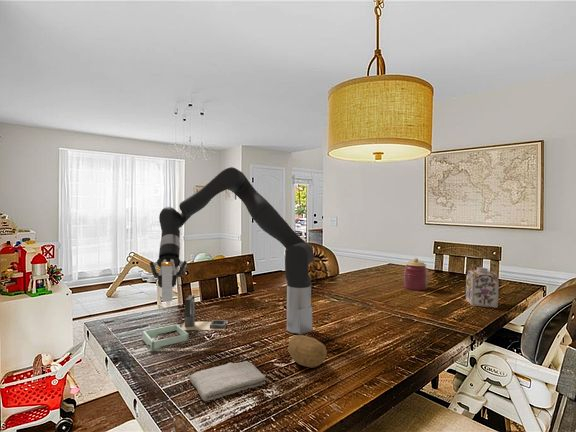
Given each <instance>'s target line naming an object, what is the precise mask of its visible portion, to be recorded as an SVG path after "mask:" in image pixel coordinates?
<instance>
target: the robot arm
mask: <svg viewBox="0 0 576 432" xmlns="http://www.w3.org/2000/svg"><path fill="white" fill-rule="evenodd" d="M226 190H227V191H230V192H232V193H233V194H234V195H235V196H236V197H238V198H239V200H240V201H242V203H243V204H244V206H245V207H246V209H247V212H248V214H249V215H250V217H251V218H252V219H253V220H254V222H255V223H256V224H257V225H258V226H259V228H260V229H261V230H262V231H263V232H265V233H266V234H267V235H269V236H271V238H274V239H275V240H277V241H278V242H279V243H280V244H281V245H282V246H283V247H284V248H285V249H286V251H285V255H284V273H285V275H284V276H285V279H286V331H287V332H289V333H291V334H297V335H305V334H307V333H310V332H312V331H313V306H312V304H311V303H312V301H311V299H312V278H311V277H310V275H309V265H310V264H311V263H312V262H313V261H314V259H315V253H314V250H313V248H312V247H311V246H310V245H309V243H308V242H306V241H305V240H304V239H303V238H302V237H301V236H300V235H298V234H297V233H296V232H295V231H294V229H293V228H291V225H289V224H288V222H287V221H286V220H285V219H284V218H283V216H281V214H280V213H279V212H278V211H277V210H276V209H275V208H274V206H273V205H272V204H271V203H270V202H269V201H268V200H267V199H266V198H264V197H263V196H262V195H261V193H259V192H258V191H257V190H256V189H255V187H254V186H253V185H252V184H251V183H250V181H249V179H248V178H247V177H246V175H245V174H244V173H243V172H242V171H240V170H239V169H237V168H236V167H233V166H227V167H225V168H224V169H222V170H221V171H220V172H219V173H218V174H217V175H215V176H214V177H213V178H212V179H211V180H210V181H209V182H208V183H206V185H204V186H202V188H201V189H199V190H198V191H196V192H194V193H193V194H192V195H190V196H189V197H187V198H185V200H182V201H181V202H180V203H179V210H180V211H181V212H179V211H177V210H176V209H175V208H174V207H171V206H165V207H163V208H162V209H161V211H160V213H159V215H158V219H159V224H160V229H161V237H160V238H161V239H160V242H159V253H158V258H157V261H155V262H153V261H150V262H149V267H150V270H151V273H152V276H153V277H154V279H157V285H158V287H159V288H161V289H162V266H161V263H162V262H173V276H172V287H173V288H174V287H176V285H177V280H178V278H181V277H182V276H183V274H184V273H185V271H186V269H187V265H188V263H187V261H186V260H184V261H182V260H181V259H180V254H181V253H180V251H181V242H180V237H181V235H180V234H181V232H180V228H182V227H183V226H184V225H185V224H186V223H187V221H188V220H189V219H190V218H191V217H192V216H193V215H194V214H196V213H199V212H200V211H201V210H202V209H204V208H205V207H207V205H208V204H209V203H210V201H211V200H212V199H213V198H215V196H217V195H219V194H220V193H222V192H224V191H226ZM179 266H180V268H179V270H178V271H177V270H176V269H177V268H178V267H179ZM157 267H159V271H158V272H157Z"/></svg>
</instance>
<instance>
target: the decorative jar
mask: <svg viewBox="0 0 576 432" xmlns="http://www.w3.org/2000/svg"><path fill="white" fill-rule="evenodd" d="M465 279H466V280H465V283H466V284H465V300H466V301H467V302H468V303H469V304H470V305H471V306H472V307H480V308H481V307H484V308H497V309H498V306H499V284H500V283H499V282H500V281H499V277H498V274H497V273H495V272H494V271H490V270H488V268H487V267H479V266H477V267H476V269H470V270H468V271H467V273H466V278H465Z"/></svg>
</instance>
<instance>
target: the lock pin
mask: <svg viewBox="0 0 576 432" xmlns="http://www.w3.org/2000/svg"><path fill="white" fill-rule="evenodd" d="M161 266H162V288H161V302H162V303H164V302H165V303H166V302H167V303H168V302H173V295H174V294H173V292H174V291H173V288H174V287H172V276H173V262H162V263H161Z"/></svg>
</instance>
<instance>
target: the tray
mask: <svg viewBox="0 0 576 432" xmlns="http://www.w3.org/2000/svg"><path fill="white" fill-rule="evenodd" d="M174 331H176V332H177V334H179V335H175V336H172V337H167V338H161V339H158V340H154V339H155V338H156V337H158V335H160V334H164V333H170V332H174ZM141 340H142V341H144V343H145V344H146V346H148V345H149V346H148V348H149V349H150V351H151V352H155V351H159V350H164V349H168V348H170V347H169V346H168V345H173V344H178V343H182V342H186V341H189V340H190V334H189V333H188V332H187V330H183V329H182V328H181V326H180V325H179V324H178V323H175V324H171V325H166V326H161V327H156V328H155V327H154V328H152V329H151V328H150V329H146V330H142V339H141Z"/></svg>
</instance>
